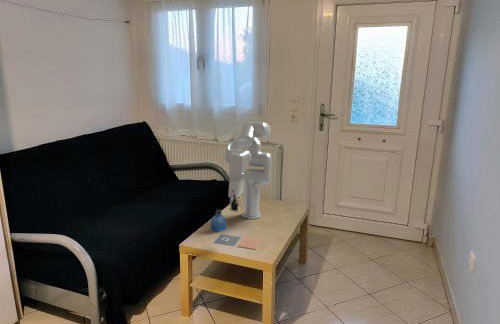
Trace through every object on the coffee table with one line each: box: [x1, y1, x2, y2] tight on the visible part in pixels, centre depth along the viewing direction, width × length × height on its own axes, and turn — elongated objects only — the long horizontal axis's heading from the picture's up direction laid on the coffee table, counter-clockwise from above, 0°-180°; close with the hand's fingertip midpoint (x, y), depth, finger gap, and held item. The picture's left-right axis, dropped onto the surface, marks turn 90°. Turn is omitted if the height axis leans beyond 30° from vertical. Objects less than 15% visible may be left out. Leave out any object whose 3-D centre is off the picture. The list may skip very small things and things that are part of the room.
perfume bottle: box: [210, 209, 227, 233], centre depth 212 cm, size 6×6×12 cm
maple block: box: [229, 196, 243, 213], centre depth 193 cm, size 5×5×7 cm
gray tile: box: [213, 233, 241, 247], centre depth 199 cm, size 12×12×1 cm
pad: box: [237, 236, 262, 251], centre depth 195 cm, size 12×10×1 cm
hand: (236, 208), depth 194 cm, fingers closed on maple block, 4 cm apart
